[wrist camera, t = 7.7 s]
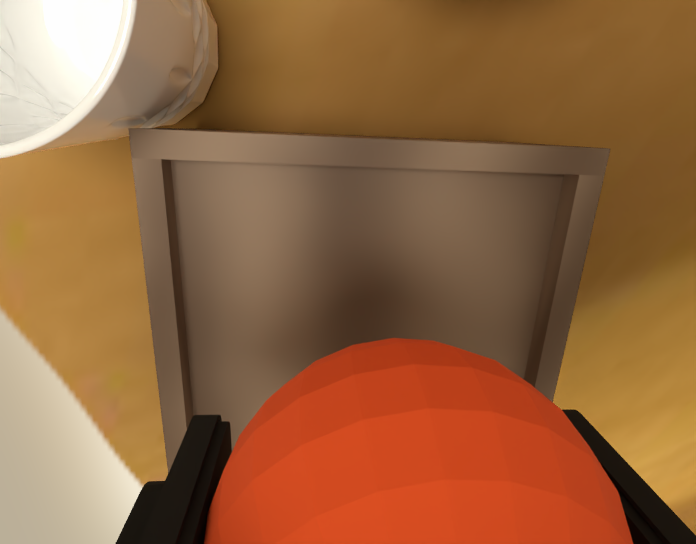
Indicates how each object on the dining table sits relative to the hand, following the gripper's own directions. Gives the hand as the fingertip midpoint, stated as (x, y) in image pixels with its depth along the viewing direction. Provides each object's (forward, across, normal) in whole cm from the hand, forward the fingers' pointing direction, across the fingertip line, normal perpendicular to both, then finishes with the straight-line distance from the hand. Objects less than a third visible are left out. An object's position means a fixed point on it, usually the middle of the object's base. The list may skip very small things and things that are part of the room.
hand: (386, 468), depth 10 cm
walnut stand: (+12, 0, 0) cm, 12 cm away
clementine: (+2, 0, 0) cm, 2 cm away
